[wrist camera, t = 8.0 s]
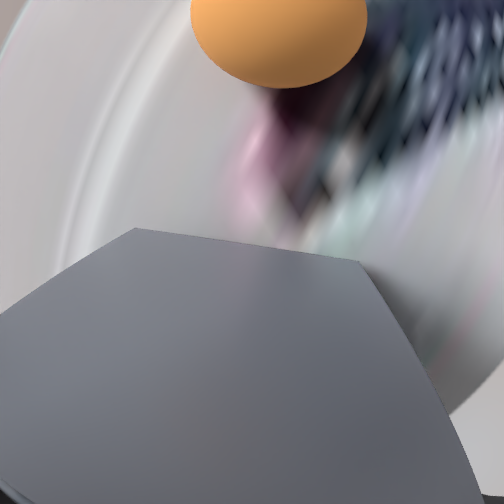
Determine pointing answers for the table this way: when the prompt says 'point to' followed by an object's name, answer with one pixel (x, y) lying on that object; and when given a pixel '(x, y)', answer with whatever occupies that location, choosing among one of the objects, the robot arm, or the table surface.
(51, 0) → the table surface
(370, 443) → the grey cube
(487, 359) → the table surface
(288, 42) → the ball
